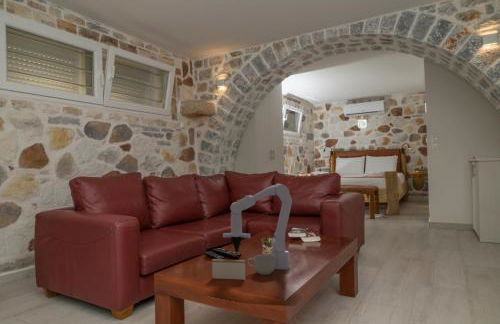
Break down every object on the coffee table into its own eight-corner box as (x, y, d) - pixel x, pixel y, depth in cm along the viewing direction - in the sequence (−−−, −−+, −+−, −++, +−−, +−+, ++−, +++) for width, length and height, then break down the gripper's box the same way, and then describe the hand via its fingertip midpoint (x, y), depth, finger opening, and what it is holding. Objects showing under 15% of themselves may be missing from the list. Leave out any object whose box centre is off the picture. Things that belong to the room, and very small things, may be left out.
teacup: (277, 270, 171) (276, 254, 171) (273, 277, 161) (273, 260, 161) (250, 268, 175) (250, 253, 175) (245, 275, 164) (245, 259, 164)
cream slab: (245, 278, 160) (245, 260, 160) (245, 279, 158) (244, 261, 158) (213, 277, 163) (212, 259, 163) (211, 278, 161) (211, 260, 161)
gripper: (251, 224, 177) (251, 249, 177) (225, 223, 179) (225, 249, 179) (248, 226, 170) (249, 253, 170) (221, 226, 172) (222, 252, 172)
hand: (236, 251), depth 174 cm, fingers closed
